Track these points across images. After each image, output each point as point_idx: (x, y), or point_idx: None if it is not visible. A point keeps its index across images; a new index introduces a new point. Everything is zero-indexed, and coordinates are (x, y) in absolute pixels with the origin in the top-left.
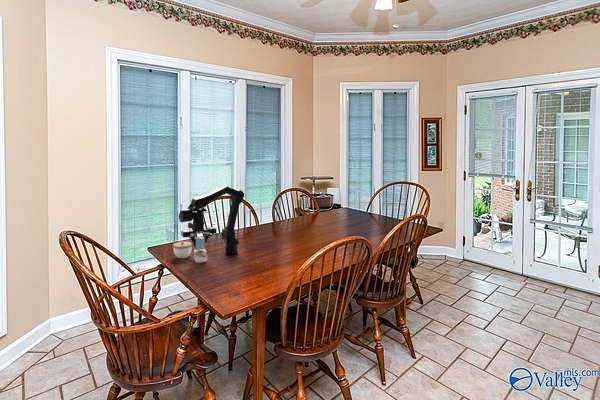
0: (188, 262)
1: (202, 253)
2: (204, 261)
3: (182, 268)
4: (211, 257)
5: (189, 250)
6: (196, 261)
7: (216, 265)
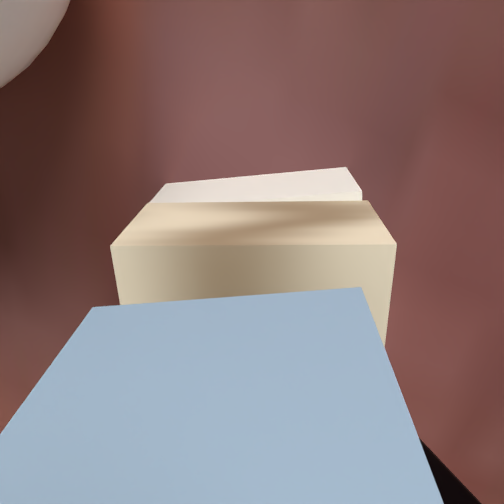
0: (78, 277)
1: None
2: None
3: None
4: (468, 182)
5: (6, 71)
6: None
7: None
